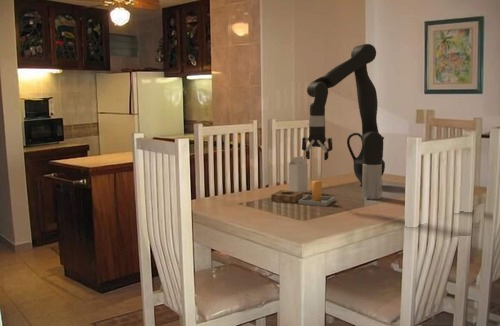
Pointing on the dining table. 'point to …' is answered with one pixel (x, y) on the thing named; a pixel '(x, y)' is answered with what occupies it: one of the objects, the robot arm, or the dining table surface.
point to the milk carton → (298, 175)
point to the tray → (308, 201)
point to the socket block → (287, 196)
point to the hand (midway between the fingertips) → (316, 159)
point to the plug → (316, 191)
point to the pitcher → (360, 159)
